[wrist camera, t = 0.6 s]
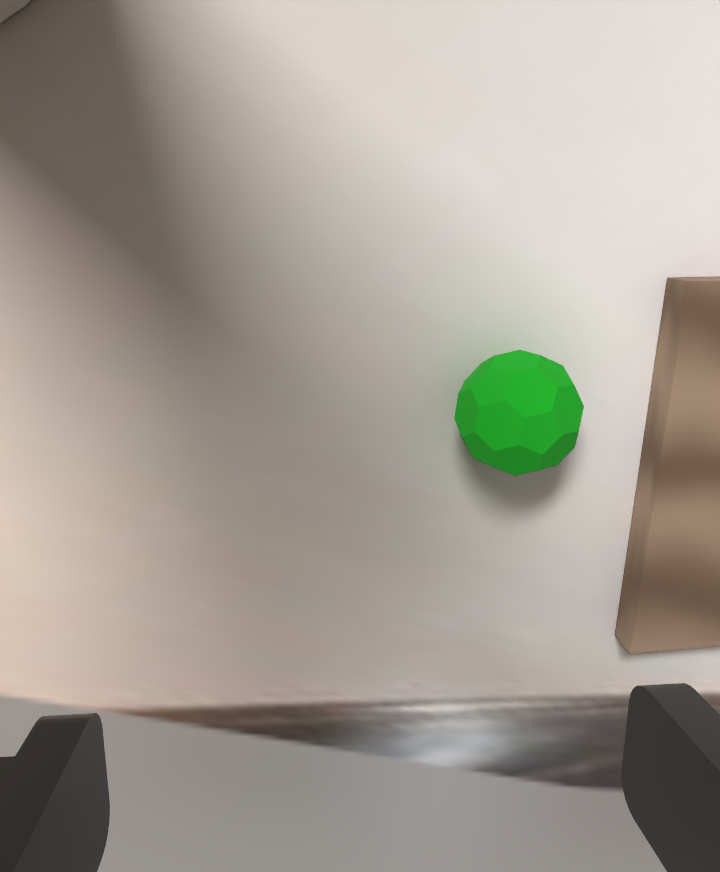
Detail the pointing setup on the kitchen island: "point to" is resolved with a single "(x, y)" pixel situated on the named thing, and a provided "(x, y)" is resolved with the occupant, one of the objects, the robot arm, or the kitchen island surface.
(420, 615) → the kitchen island surface
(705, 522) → the walnut board
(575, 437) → the polyhedron
